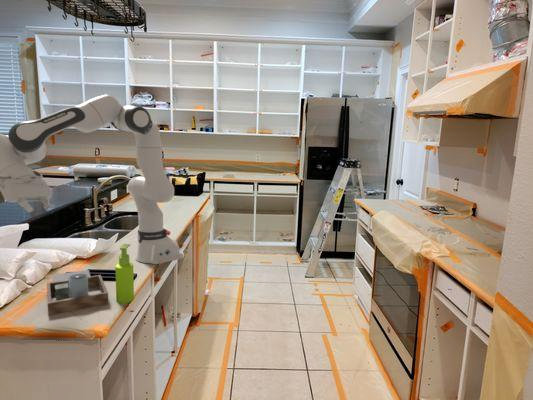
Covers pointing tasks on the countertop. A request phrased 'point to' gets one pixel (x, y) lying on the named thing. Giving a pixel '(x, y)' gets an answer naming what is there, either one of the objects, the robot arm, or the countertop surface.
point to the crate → (77, 301)
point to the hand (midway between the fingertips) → (40, 210)
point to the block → (62, 291)
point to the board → (67, 275)
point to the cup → (78, 285)
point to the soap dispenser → (124, 277)
